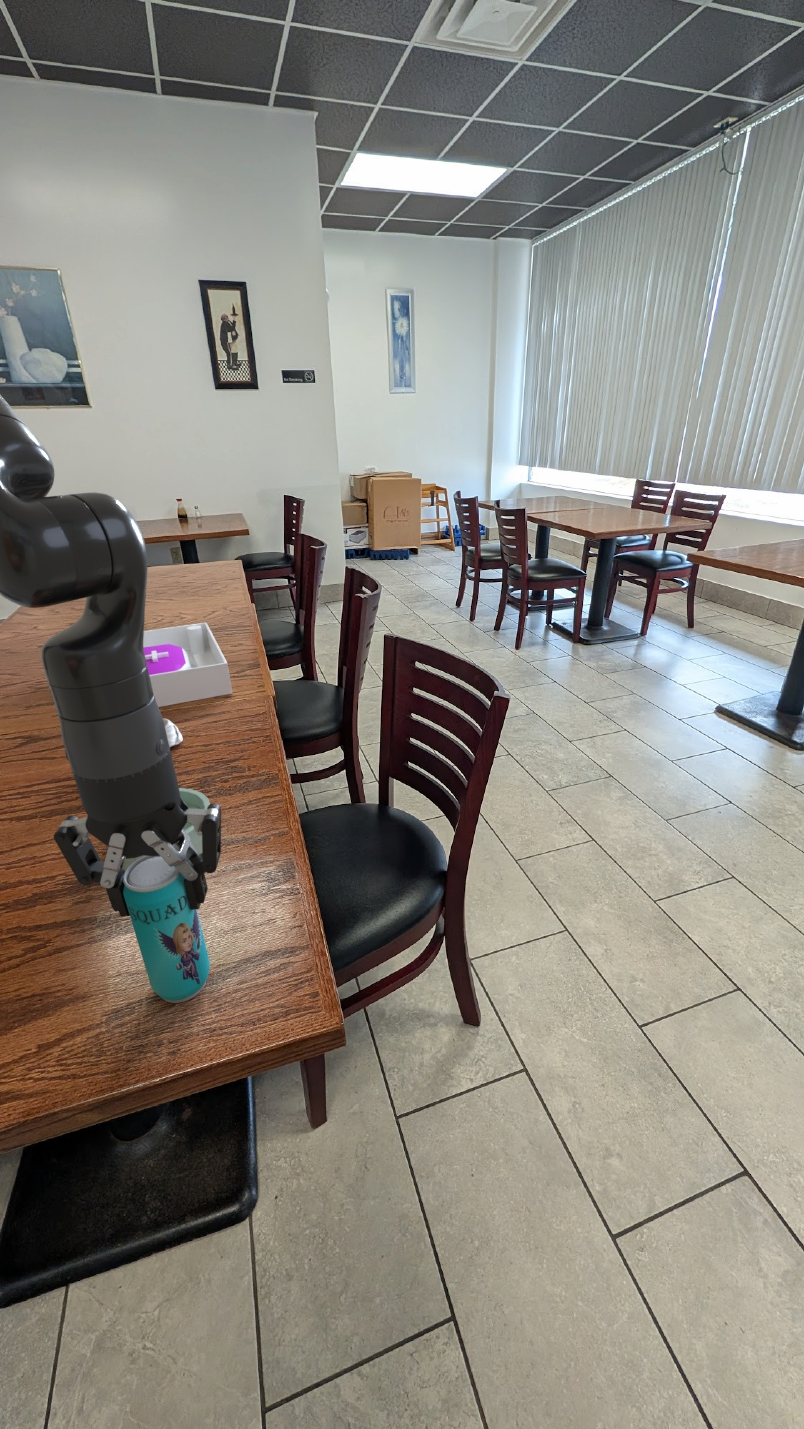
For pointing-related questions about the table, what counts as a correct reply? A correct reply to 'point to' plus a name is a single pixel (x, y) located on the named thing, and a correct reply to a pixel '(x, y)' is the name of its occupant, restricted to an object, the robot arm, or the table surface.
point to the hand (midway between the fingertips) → (162, 906)
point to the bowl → (194, 802)
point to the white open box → (185, 664)
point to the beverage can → (166, 929)
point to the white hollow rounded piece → (172, 733)
